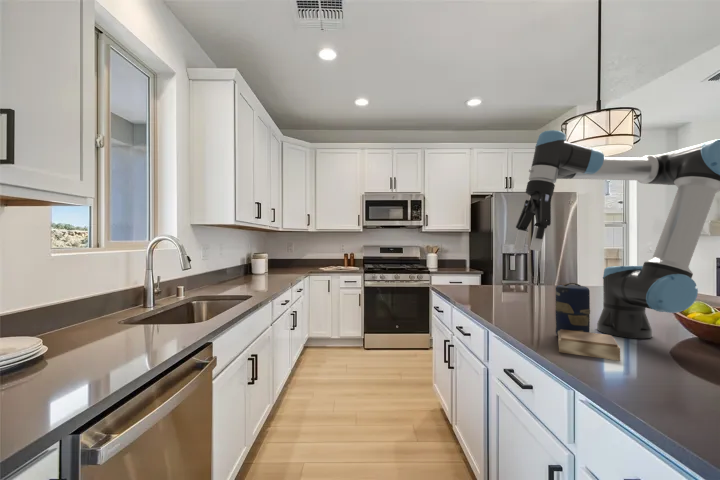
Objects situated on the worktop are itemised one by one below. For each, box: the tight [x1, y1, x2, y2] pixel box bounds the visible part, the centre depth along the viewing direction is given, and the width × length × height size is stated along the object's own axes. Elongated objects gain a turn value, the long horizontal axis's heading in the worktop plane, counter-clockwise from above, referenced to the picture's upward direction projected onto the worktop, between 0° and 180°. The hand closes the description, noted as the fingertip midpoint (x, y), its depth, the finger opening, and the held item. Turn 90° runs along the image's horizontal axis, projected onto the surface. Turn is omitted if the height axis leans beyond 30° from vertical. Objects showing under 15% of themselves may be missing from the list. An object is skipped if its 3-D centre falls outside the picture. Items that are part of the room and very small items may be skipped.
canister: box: [555, 282, 591, 336], centre depth 113 cm, size 10×10×18 cm
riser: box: [557, 329, 621, 362], centre depth 100 cm, size 14×12×4 cm
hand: (525, 250), depth 106 cm, fingers open, 13 cm apart
